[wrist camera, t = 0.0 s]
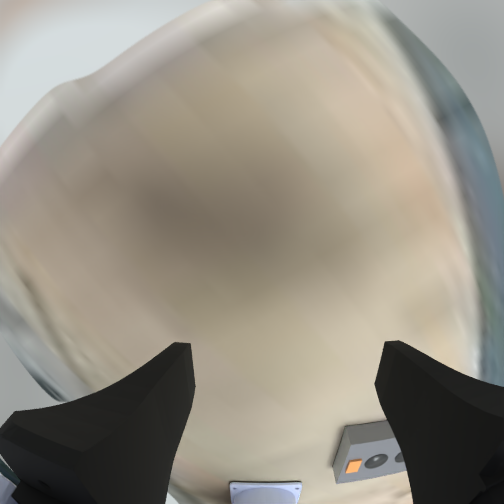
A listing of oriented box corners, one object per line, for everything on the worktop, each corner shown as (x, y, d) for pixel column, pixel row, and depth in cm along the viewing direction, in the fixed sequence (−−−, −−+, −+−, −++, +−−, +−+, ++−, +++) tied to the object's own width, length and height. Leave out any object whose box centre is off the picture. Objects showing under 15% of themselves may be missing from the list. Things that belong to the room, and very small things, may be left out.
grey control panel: (464, 436, 24) (473, 450, 22) (332, 466, 25) (336, 486, 22) (486, 395, 23) (498, 408, 20) (345, 426, 23) (351, 447, 21)
